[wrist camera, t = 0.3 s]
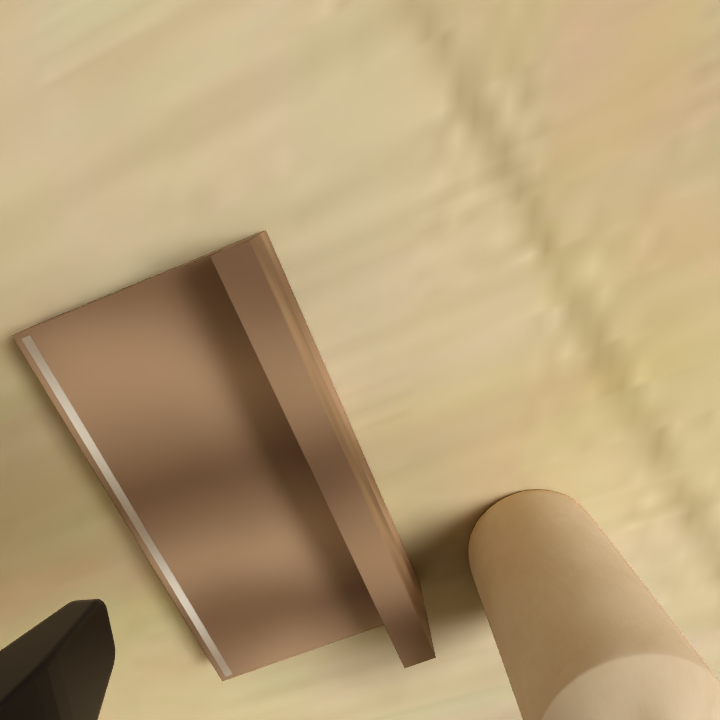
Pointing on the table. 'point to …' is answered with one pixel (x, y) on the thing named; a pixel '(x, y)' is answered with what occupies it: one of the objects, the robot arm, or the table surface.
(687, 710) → the candle
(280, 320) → the board
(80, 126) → the table surface
